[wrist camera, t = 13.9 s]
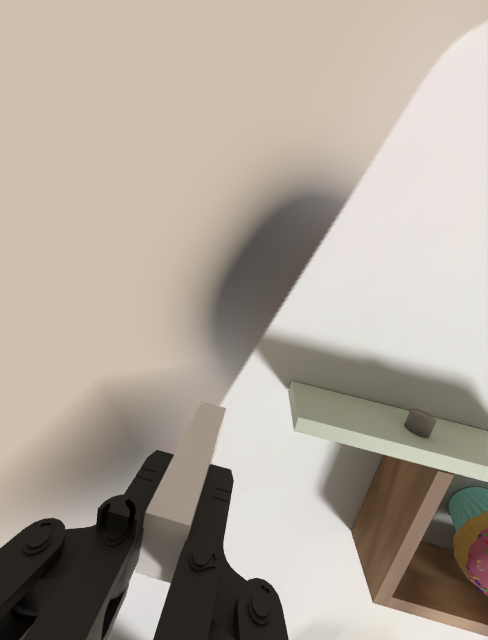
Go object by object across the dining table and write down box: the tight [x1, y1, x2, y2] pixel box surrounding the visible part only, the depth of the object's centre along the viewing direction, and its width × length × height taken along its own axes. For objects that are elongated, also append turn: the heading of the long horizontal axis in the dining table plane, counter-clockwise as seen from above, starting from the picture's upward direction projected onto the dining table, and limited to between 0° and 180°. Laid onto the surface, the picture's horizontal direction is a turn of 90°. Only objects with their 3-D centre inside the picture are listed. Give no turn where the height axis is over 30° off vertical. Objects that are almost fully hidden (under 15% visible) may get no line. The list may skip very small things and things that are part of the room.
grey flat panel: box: [288, 381, 488, 482], centre depth 21 cm, size 20×3×6 cm, turn 77°
